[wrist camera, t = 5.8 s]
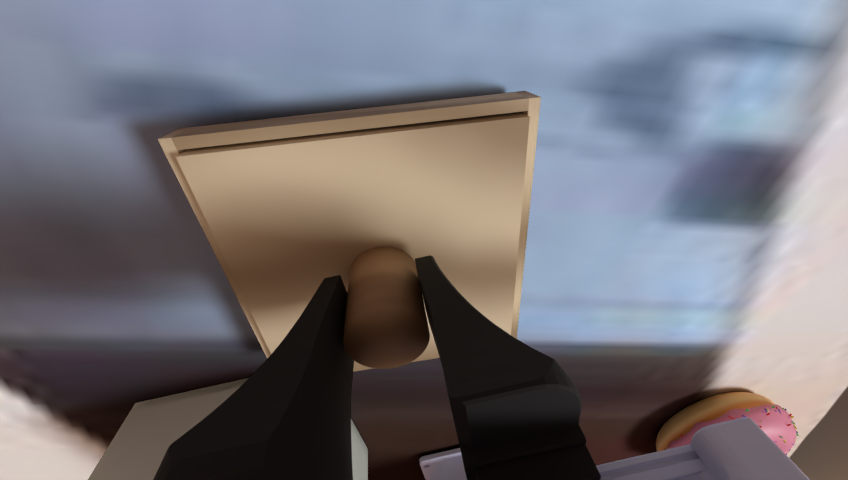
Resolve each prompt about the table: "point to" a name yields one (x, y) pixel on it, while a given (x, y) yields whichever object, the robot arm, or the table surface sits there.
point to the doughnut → (728, 419)
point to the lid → (367, 213)
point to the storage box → (178, 434)
